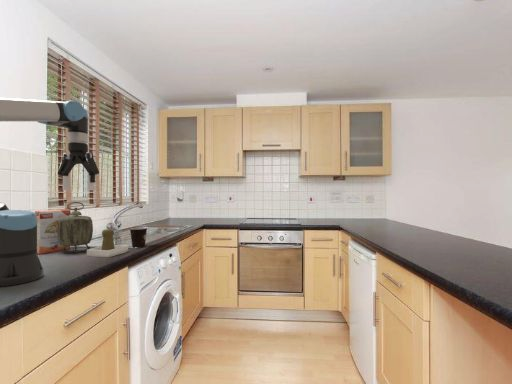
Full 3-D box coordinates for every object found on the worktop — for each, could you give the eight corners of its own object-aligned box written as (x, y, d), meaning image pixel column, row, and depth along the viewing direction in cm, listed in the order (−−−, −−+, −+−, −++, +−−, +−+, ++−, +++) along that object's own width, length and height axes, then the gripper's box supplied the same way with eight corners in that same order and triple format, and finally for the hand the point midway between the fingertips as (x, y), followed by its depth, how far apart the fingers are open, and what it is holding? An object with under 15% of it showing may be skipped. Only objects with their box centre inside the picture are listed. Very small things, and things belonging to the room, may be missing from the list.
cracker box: (39, 254, 133) (39, 211, 133) (33, 253, 136) (33, 210, 136) (71, 249, 145) (70, 209, 145) (65, 248, 148) (64, 209, 148)
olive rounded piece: (109, 253, 131) (109, 230, 131) (98, 253, 132) (97, 230, 132) (117, 251, 137) (117, 228, 137) (107, 250, 138) (107, 228, 138)
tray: (108, 257, 127) (108, 250, 127) (86, 256, 129) (86, 249, 129) (128, 251, 139) (128, 245, 139) (107, 250, 142) (107, 244, 142)
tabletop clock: (93, 248, 146) (92, 201, 146) (92, 252, 138) (92, 201, 138) (59, 251, 139) (59, 202, 139) (56, 255, 131) (56, 202, 131)
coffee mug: (139, 244, 157) (139, 227, 157) (150, 245, 153) (150, 227, 153) (121, 248, 147) (121, 229, 147) (133, 249, 143) (132, 230, 143)
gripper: (107, 143, 126) (108, 190, 126) (63, 145, 132) (63, 190, 132) (94, 140, 118) (94, 190, 118) (48, 143, 124) (48, 190, 124)
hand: (78, 190), depth 125 cm, fingers open, 13 cm apart
